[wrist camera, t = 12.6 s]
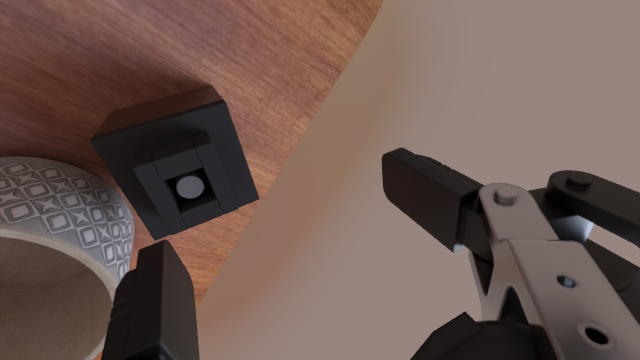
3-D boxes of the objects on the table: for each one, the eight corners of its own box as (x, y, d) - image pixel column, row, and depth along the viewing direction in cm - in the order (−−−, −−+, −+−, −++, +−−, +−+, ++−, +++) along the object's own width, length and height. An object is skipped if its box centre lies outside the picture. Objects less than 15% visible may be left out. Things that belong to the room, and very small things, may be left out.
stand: (110, 112, 28) (93, 136, 22) (212, 84, 31) (223, 99, 24) (157, 194, 33) (155, 233, 27) (241, 164, 36) (256, 193, 30)
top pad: (135, 153, 22) (131, 168, 20) (207, 130, 24) (211, 142, 21) (171, 216, 26) (171, 235, 23) (232, 193, 27) (238, 209, 25)
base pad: (93, 136, 22) (80, 152, 19) (223, 99, 24) (231, 108, 21) (155, 233, 27) (153, 258, 24) (256, 193, 30) (266, 212, 27)
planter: (13, 114, 25) (-94, 171, 15) (168, 215, 35) (168, 292, 25) (-141, 241, 24) (-364, 393, 14) (62, 308, 34) (17, 427, 24)
